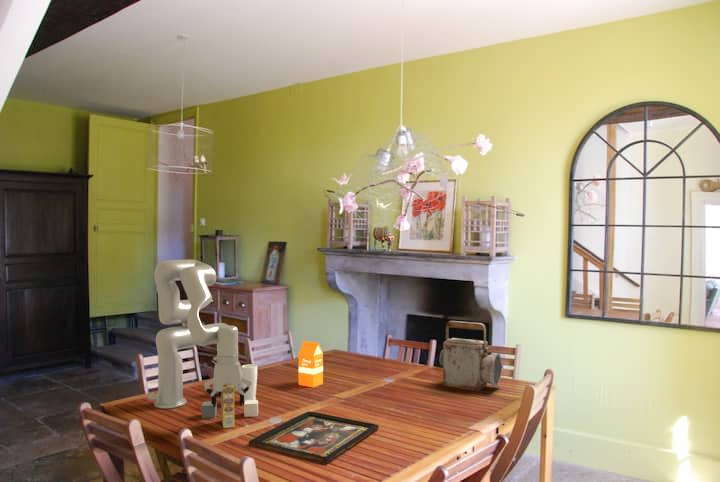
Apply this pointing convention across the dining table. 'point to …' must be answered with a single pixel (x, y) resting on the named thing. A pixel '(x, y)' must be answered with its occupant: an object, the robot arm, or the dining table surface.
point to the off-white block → (250, 408)
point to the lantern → (469, 360)
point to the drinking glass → (251, 375)
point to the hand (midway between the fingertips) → (227, 405)
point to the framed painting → (314, 436)
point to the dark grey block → (209, 410)
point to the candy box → (227, 406)
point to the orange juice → (310, 364)
